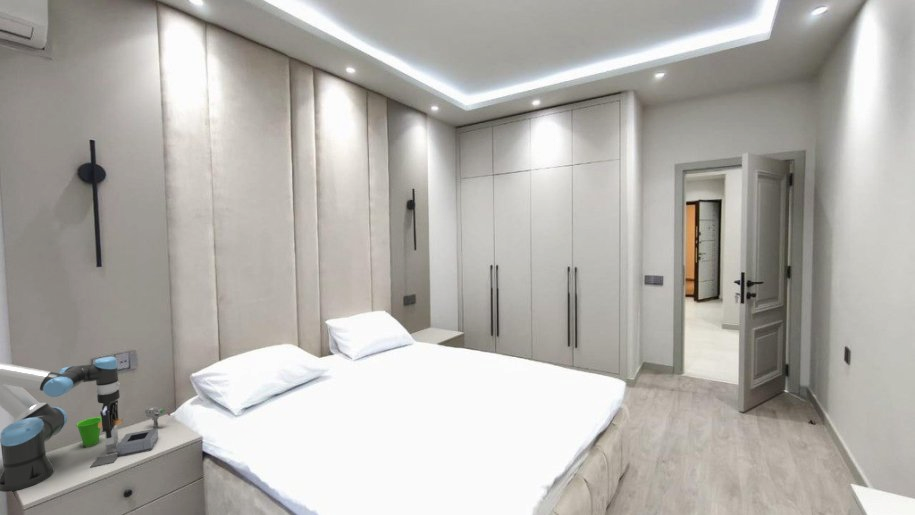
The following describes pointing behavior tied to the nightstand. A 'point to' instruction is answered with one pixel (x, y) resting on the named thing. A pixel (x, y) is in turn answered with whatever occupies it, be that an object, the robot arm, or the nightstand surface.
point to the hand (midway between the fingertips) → (112, 441)
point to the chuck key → (113, 447)
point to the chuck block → (137, 442)
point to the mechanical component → (154, 414)
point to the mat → (104, 460)
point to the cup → (89, 431)
